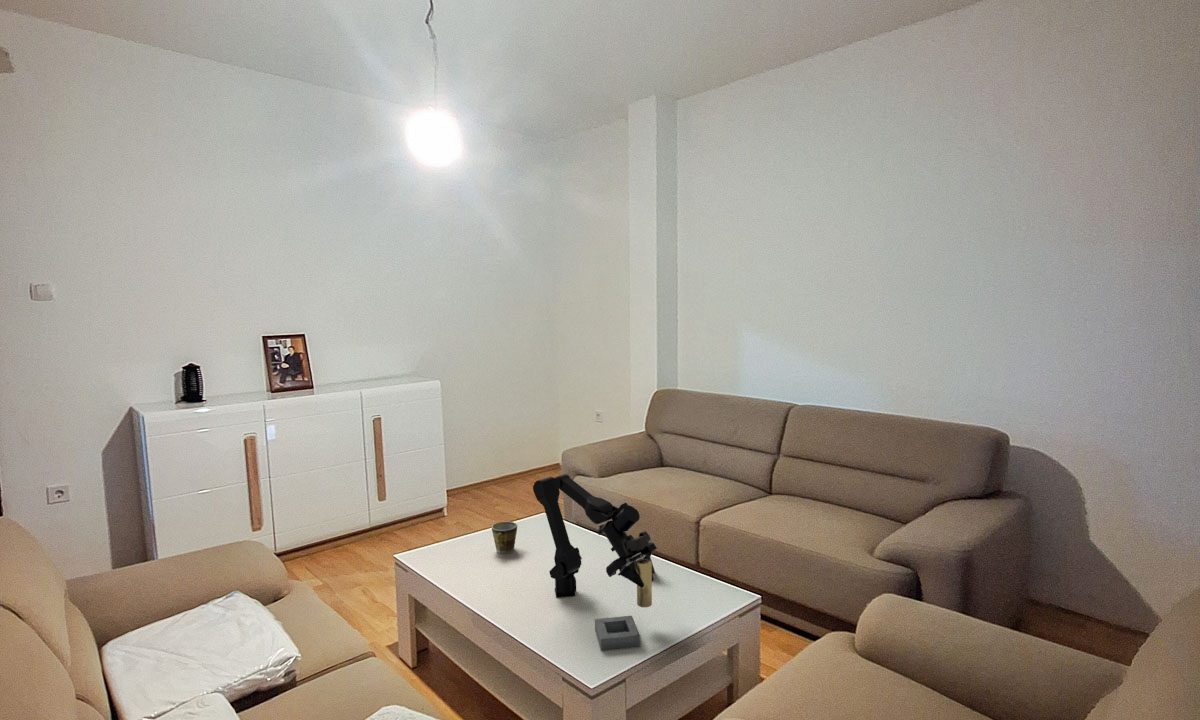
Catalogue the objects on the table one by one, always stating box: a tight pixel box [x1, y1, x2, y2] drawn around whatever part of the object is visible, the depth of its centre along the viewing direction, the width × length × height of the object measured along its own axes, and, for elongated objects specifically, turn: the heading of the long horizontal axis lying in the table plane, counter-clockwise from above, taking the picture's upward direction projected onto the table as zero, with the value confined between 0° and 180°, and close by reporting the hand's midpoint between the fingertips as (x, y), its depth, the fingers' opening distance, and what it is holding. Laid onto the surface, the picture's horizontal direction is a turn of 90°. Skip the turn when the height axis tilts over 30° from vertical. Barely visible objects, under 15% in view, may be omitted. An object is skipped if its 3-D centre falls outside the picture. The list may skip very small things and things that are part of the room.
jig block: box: [594, 615, 641, 652], centre depth 180 cm, size 11×11×4 cm
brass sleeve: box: [636, 559, 653, 608], centre depth 185 cm, size 4×4×13 cm
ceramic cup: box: [491, 520, 518, 555], centre depth 243 cm, size 13×10×10 cm
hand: (647, 584), depth 184 cm, fingers closed on brass sleeve, 4 cm apart
